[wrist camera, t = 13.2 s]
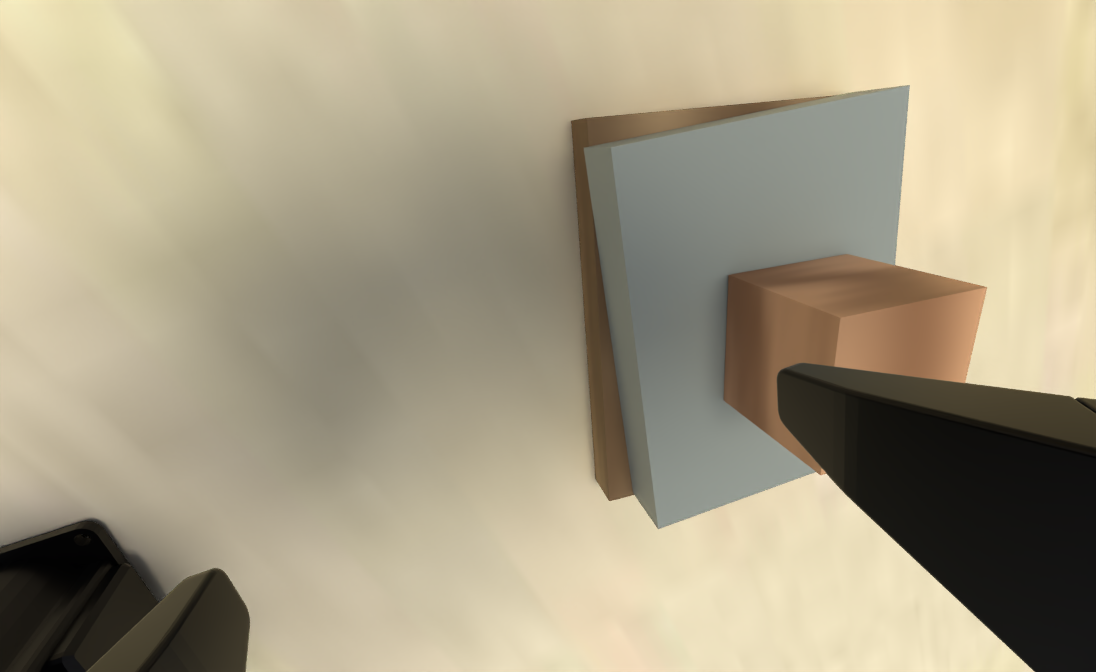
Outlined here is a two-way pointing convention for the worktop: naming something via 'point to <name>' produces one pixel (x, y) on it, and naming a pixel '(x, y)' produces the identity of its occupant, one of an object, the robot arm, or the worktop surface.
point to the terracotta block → (842, 329)
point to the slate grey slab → (727, 270)
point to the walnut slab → (601, 365)
